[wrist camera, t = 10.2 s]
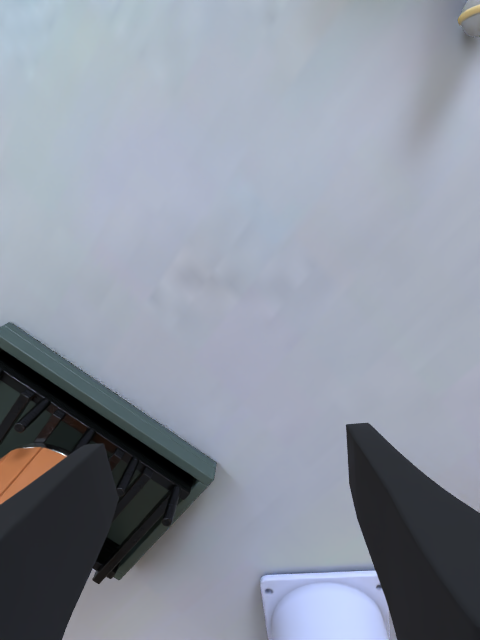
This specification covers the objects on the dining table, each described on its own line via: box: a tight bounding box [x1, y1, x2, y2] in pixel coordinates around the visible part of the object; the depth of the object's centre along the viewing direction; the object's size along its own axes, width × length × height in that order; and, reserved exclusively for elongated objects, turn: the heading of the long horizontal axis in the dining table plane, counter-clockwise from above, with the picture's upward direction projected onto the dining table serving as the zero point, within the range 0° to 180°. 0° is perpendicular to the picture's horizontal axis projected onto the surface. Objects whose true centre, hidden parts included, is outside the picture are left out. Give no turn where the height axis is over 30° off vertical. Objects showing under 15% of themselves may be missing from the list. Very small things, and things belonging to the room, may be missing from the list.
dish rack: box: [0, 322, 217, 584], centre depth 22 cm, size 14×10×5 cm
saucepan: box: [0, 443, 70, 504], centre depth 20 cm, size 11×6×4 cm, turn 7°
